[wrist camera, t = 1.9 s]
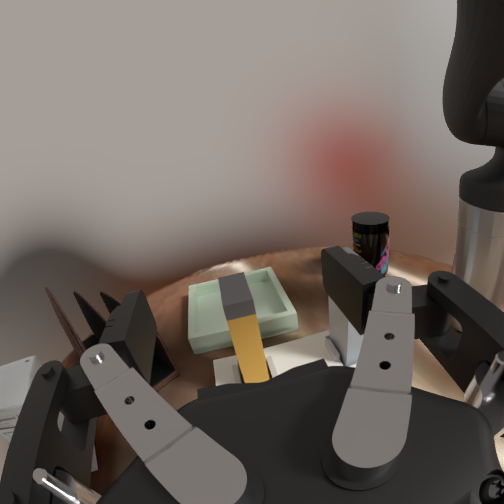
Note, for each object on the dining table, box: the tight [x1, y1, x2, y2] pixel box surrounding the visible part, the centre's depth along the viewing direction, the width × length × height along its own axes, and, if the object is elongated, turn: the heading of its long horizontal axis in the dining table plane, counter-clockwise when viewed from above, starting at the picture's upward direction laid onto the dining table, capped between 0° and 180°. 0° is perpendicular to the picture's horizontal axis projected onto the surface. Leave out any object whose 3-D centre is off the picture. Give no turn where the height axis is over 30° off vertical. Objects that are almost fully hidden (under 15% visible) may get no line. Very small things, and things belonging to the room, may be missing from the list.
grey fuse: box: [328, 247, 373, 366], centre depth 29 cm, size 2×5×14 cm, turn 11°
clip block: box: [213, 330, 357, 386], centre depth 30 cm, size 20×8×3 cm, turn 101°
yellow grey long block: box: [218, 272, 270, 383], centre depth 28 cm, size 2×5×14 cm, turn 11°
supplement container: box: [351, 212, 390, 276], centre depth 47 cm, size 7×7×10 cm
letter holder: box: [45, 287, 180, 392], centre depth 34 cm, size 10×20×14 cm, turn 51°
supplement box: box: [0, 356, 98, 472], centre depth 19 cm, size 7×7×13 cm
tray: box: [188, 267, 299, 355], centre depth 44 cm, size 15×15×3 cm
